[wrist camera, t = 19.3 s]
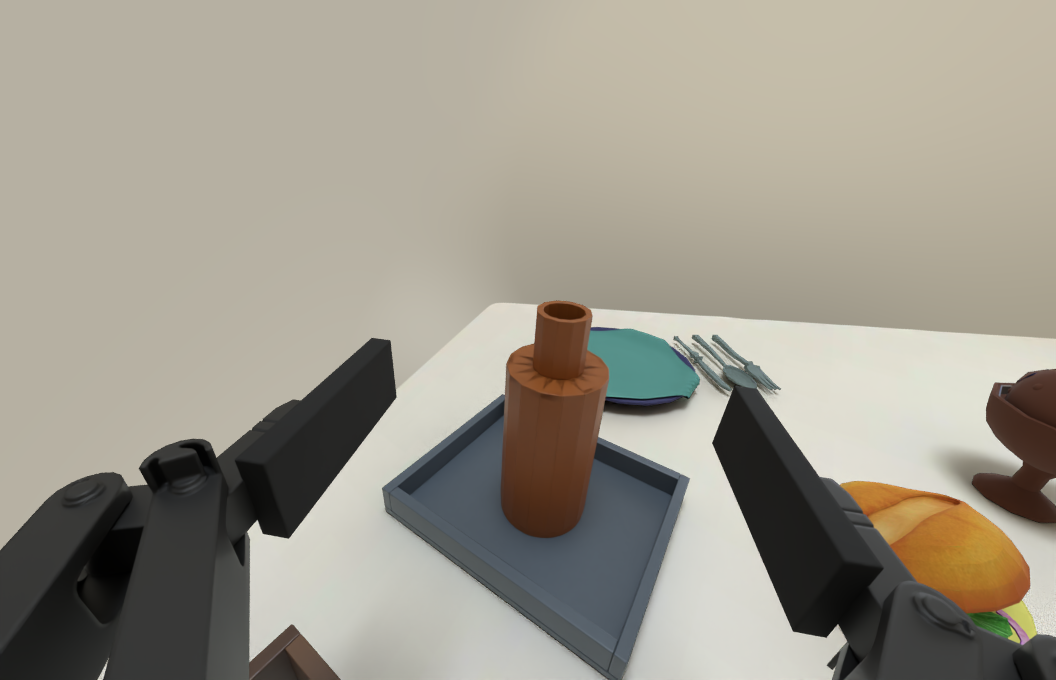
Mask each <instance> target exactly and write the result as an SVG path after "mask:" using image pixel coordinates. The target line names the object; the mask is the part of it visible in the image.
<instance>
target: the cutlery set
mask: <svg viewBox="0 0 1056 680" xmlns="http://www.w3.org/2000/svg"><path fill="white" fill-rule="evenodd" d="M692 339H694V340H695V341H696V342H698V343H699V344H700V345H701V346H702V347H704V348H705V349H706V350H707V351H708V352H709V353H710V354H711V355H712V356H713V357H714V358H715V359H716V360H718V361H719V362H720V363H721V365H722V366H723V372H724V374H725V375H726V377H727V378H728V379H729V380H731V381H732V382H733V383H735V384H738V385H740V386H742V387H749V388H757V383H756V381H755V380H754V379H753V378H755V379H757V380H758V381H759V382H760V383H761V384H763V385H764V386H765V387H766V388H768V389H770V390H772V388H773V389H774V390H776V389H779V390H781V388H779V387H778V386H777V385H776V384H774V383H773V382H772V381H771V380H770V378H769V377H768V376H767V375H766V374H765V373H764V372H763V371H762V370H761V369H760V366H757V365H753V362H752V361H747V360H745V359H744V358H742V357H741V356H739V355H738V354H737V353H736V352H735V351H733V350H732V349H731V348H730V347H729V346H728V345H727V344H726V343H725V342H724V341H723V340H722V339H721V338H720V337H719V336H718V335H713V336H712V340H713V341H715V342H716V343H717V344H719V345H720V346H721V347H722V348H723V349H724V350H725V351H726V352H727V353H728V354H729V355H731V356H732V357H733V358H734V359H736V360H738V361H740V362H741V363H742V364H744V365H745V366H744V369H745V372H747V373H748V374H747V373H745V372H744V371H742V370H741V369H738V368H736V367H733V366H731V365H726V364H725V363H724V361H723V360H722V359H721V358H720V357H719V356H718V355H717V354H716V353H715V351H714V350H713V349H712V348H711V347H710V346H709V345H708V344H707V343H706V342H705V341H704V340H703V339H702V338H701V337H700V336H699V335H693V336H692ZM674 340H676V341H678V342H679V343H680V344H681V345H682V346H683V347H684V348H685V349H686V350H687V351H688V352H689V354H690V357H691V358H694V360H695V361H694V363H698V364H699V365H700V366H701V368H702V369H703V370H704V371H705V372H706V373H707V374H708V375H709V376H710V377H711V378H712V379H713V380H714V381H715V382H716V383H717V384H718V385H719V386H720V387H722V388H724V389H726V390H728V391H731V390H732V389H731V388H730V387H729V386H728V385H727V384H726V383H725V382H724V381H723V380H722V379H721V378H720V377H719V376H718V375H717V374H716V373H715V372H714V371H712V370H711V369H710V368H709V367H708V366H707V365H706V364H705V363H704V362H703V361H702V359H703V357H699V354H698V353H696V352H694V351H692V350H691V349H690V348H689V347H687V346H686V345H685V344H684V343H683V342H682V341H681V340H680V339H679V338H678V336H674ZM587 350H588V351H590V352H592V353H593V354H595V355H597V356H598V357H600V358H601V359H602V360H603V361H604V363H605V364H606V365H607V367H608V368H609V383H608V388H607V393H606V398H605V400H607V401H611V402H615V403H619V404H632V405H645V406H648V405H655V404H663V403H670V402H673V401H675V400H677V399H679V398H681V397H683V396H684V397H685V398H687V399H688V398H690V396H691V395H692V392H693V391H694V389H695V388H697V386H698V385H699V381H700V379H699V377H698V375H697V374H696V373H695V369H694V368H693V367H692V365H691V364H690V362H689V361H688V359H687V358H686V357H684V356H683V355H682V354H681V353H679V352H678V351H677V350H676V349H674V348H673V347H671V346H669V344H668V343H667V342H666V341H665V340H663V339H660V338H657V337H655V336H652V335H650V334H647V333H644V332H640V331H637V330H634V329H616V328H602V327H592V328H591V329H590V335H589V342H588V348H587ZM749 374H750V375H751V376H752V377H753V378H752V377H751V376H750V375H749Z"/></svg>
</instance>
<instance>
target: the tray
mask: <svg viewBox="0 0 1056 680" xmlns="http://www.w3.org/2000/svg"><path fill="white" fill-rule="evenodd" d="M504 407H505V395H503V394H502V395H501V396H500V397H498V398H497V399H496V400H494V401H493V402H492V403H491V404H489V405H488V406H487V407H485V408H484V409H483V410H482V411H480V412H479V413H478V414H476V415H475V416H474V417H473V418H471V419H470V420H469V421H467V422H466V423H465V424H464V425H462V426H461V427H460V428H459V429H457V430H456V431H455V432H453V433H452V434H451V435H450V436H448V437H447V438H446V439H444V440H443V441H442V442H441V443H439V444H438V445H437V446H435V447H434V448H433V449H432V450H430V451H429V452H428V453H426V454H425V455H424V456H423V457H421V458H420V459H419V460H417V461H416V462H415V463H414V464H412V465H411V466H410V467H408V468H407V469H406V470H405V471H403V472H402V473H401V474H400V475H398V476H397V477H396V478H394V479H393V480H392V481H391V482H389V483H388V484H387V485H385V486H384V487H383V488H382V490H383V496H384V503H385V509H386V511H387V512H388V513H389V514H391V515H392V516H393V517H395V518H396V519H397V520H399V521H400V522H401V523H403V524H404V525H405V526H407V527H408V528H409V529H411V530H412V531H413V532H415V533H416V534H417V535H419V536H420V537H421V538H423V539H424V540H425V541H427V542H428V543H429V544H430V545H432V546H433V547H434V548H436V549H437V550H438V551H440V552H441V553H442V554H444V555H445V556H446V557H448V558H449V559H450V560H452V561H453V562H454V563H456V564H457V565H458V566H460V567H461V568H462V569H464V570H465V571H466V572H468V573H469V574H470V575H472V576H473V577H474V578H476V579H477V580H478V581H480V582H481V583H482V584H484V585H485V586H486V587H487V588H489V589H490V590H491V591H493V592H494V593H495V594H497V595H498V596H499V597H501V598H502V599H503V600H505V601H506V602H507V603H509V604H510V605H511V606H513V607H514V608H515V609H517V610H518V611H519V612H521V613H522V614H523V615H525V616H526V617H527V618H529V619H530V620H531V621H533V622H534V623H535V624H537V625H538V626H539V627H541V628H542V629H543V630H545V631H546V632H547V633H548V634H550V635H551V636H552V637H554V638H555V639H556V640H558V641H559V642H560V643H562V644H563V645H564V646H566V647H567V648H568V649H570V650H571V651H572V652H574V653H575V654H576V655H578V656H579V657H580V658H582V659H583V660H584V661H586V662H587V663H588V664H590V665H591V666H592V667H594V668H595V669H596V670H598V671H599V672H600V673H602V674H603V675H604V676H605V677H607V678H608V679H609V680H622V678H623V675H624V672H625V670H626V667H627V664H628V661H629V658H630V655H631V652H632V650H633V647H634V644H635V641H636V638H637V635H638V632H639V629H640V626H641V623H642V620H643V617H644V614H645V611H646V608H647V605H648V602H649V599H650V596H651V593H652V590H653V587H654V584H655V581H656V578H657V575H658V572H659V569H660V566H661V563H662V560H663V557H664V554H665V551H666V548H667V545H668V542H669V540H670V537H671V534H672V531H673V528H674V525H675V522H676V519H677V516H678V513H679V510H680V507H681V504H682V501H683V498H684V495H685V492H686V489H687V486H688V483H689V480H690V478H688V477H686V476H684V475H680V473H678V472H675V471H673V470H671V469H669V468H666V467H664V466H662V465H660V464H657V463H655V462H653V461H651V460H649V459H646V458H644V457H642V456H640V455H637V454H635V453H633V452H631V451H628V450H626V449H624V448H622V447H620V446H617V445H615V444H613V443H611V442H608V441H606V440H604V439H602V438H599V437H598V439H597V444H596V449H595V455H594V460H593V465H592V470H591V475H590V480H589V485H588V491H587V496H586V501H585V506H584V510H583V513H582V516H581V518H580V520H579V522H578V523H577V525H576V526H575V527H574V528H573V529H571V530H570V531H569V532H567V533H565V534H563V535H560V536H557V537H552V538H539V537H534V536H530V535H528V534H525V533H523V532H521V531H519V530H518V529H517V528H515V527H514V526H513V525H512V524H511V523H510V522H509V521H508V519H507V518H506V516H505V515H504V512H503V510H502V506H501V494H500V493H501V471H502V450H503V428H504Z"/></svg>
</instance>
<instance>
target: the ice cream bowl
mask: <svg viewBox="0 0 1056 680" xmlns="http://www.w3.org/2000/svg"><path fill="white" fill-rule="evenodd" d="M986 421H987V423H988V425H989V426H990V428H991V430H992V431H993V433H994V435H995V436H996V437H997V438H998V439H999V440H1000V442H1001V443H1002V444H1003V445H1004V446H1005V447H1006V448H1007V449H1009V450H1010V451H1011V452H1012V453H1014V454H1015V455H1016V456H1017V457H1018V458H1020V459H1021V460H1023V466H1022V467H1021V468H1020V469H1019V470H1018V471H1017V472H1016V473H1015V474H1014V475H1013V476H1012V477H1010V476H1005V475H999V474H994V473H979V474H977V475H975V476H974V477H973V481H972V484H973V485H974V486H975V487H976V488H977V489H978V490H979V491H980V492H981V493H982V494H983V495H984V496H985V497H986V498H987V499H989V500H991V501H992V502H994V503H996V504H998V505H999V506H1001V507H1003V508H1004V509H1006V510H1008V511H1009V512H1011V513H1014V514H1017V515H1020V516H1022V517H1025V518H1028V519H1031V520H1033V521H1036V522H1039V523H1056V506H1055V505H1054V504H1053V503H1052V502H1051V501H1050V500H1049V499H1048V498H1047V497H1046V496H1045V495H1044V494H1043V493H1042V492H1041V491H1040V490H1041V489H1042V488H1043V487H1044V486H1045V484H1046V483H1047V482H1048V481H1049V480H1050V479H1053V478H1056V369H1052V370H1049V369H1047V370H1040V371H1034V372H1028V373H1027V374H1025V375H1024V376H1023V377H1022V378H1020V379H1019V380H1018V381H1017V382H1016V383H994V386H993V388H992V391H991V394H990V396H989V400H988V403H987V407H986Z"/></svg>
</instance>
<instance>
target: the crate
mask: <svg viewBox="0 0 1056 680" xmlns="http://www.w3.org/2000/svg"><path fill="white" fill-rule="evenodd" d="M249 680H341V679H340V678H339V677H338V676H337V675H336V674H335V672H334V671H333V670H332V669H331V668H330V667H329V666H328V664H327V663H326V662H325V661H324V660H323V659H322V657H321V656H320V655H319V654H318V653H317V652H316V651H315V649H314V648H313V647H312V646H311V645H310V644H309V642H308V641H307V640H306V639H305V638H304V637H303V636H302V634H300V632H299V631H298V630H297V629H296V628H295V626H294V625H290V626H289V627H288V628H287V629H286V630H285V631H284V632H283V633H281V634H280V635H279V636H278V637H277V638H276V639H275V640H274V641H273V642H272V643H270V644H269V645H268V646H267V647H266V648H265V649H264V650H263V651H262V652H261V653H259V654H258V655H257V656H256V657H255V658H254V659H253V660H252V661H251V662H250V663H249Z"/></svg>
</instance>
